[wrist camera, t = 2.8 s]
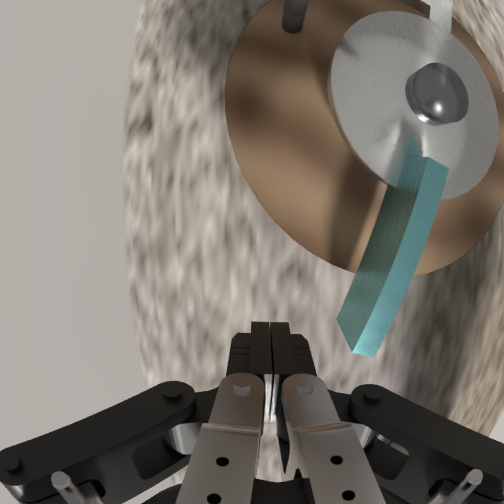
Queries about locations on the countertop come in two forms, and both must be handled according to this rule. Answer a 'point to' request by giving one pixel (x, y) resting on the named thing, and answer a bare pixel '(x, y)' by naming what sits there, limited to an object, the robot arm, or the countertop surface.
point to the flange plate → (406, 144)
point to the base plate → (331, 137)
